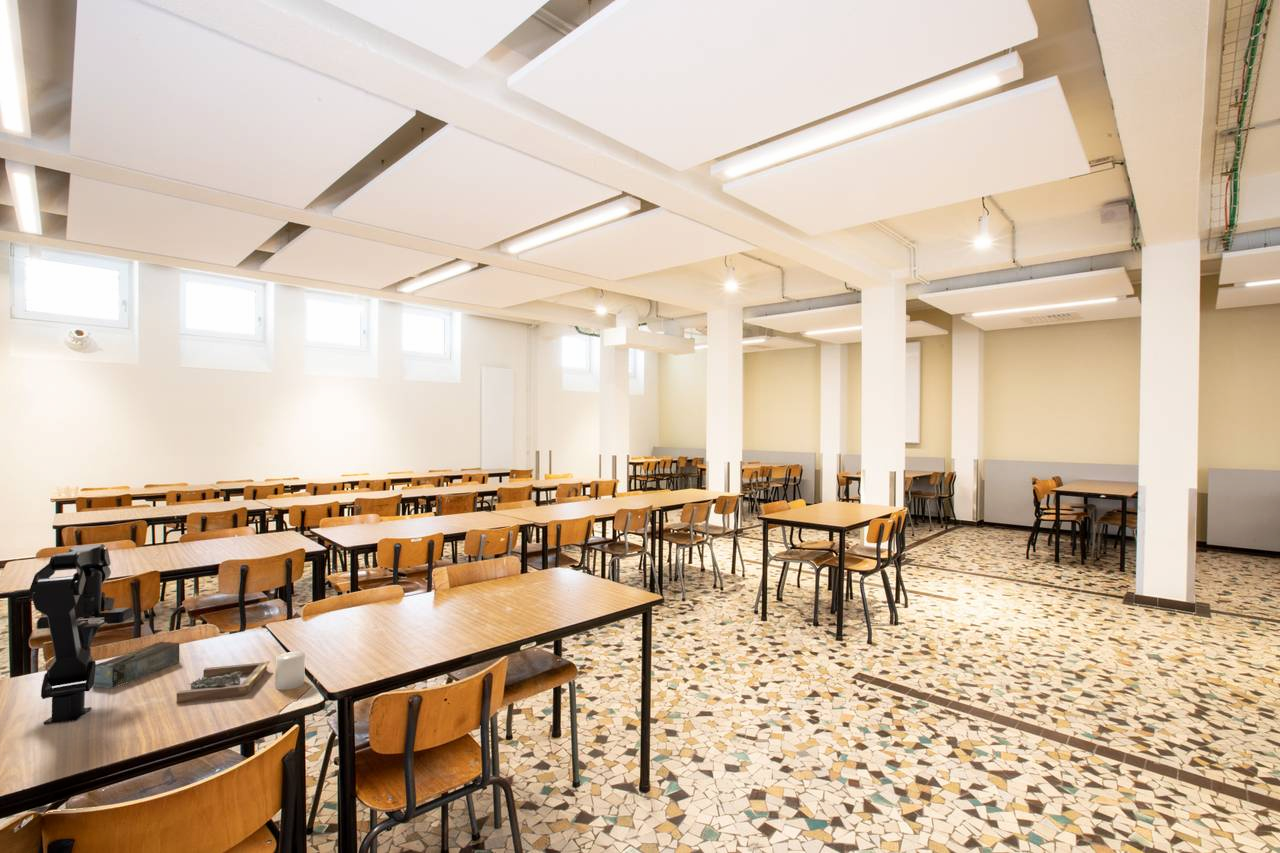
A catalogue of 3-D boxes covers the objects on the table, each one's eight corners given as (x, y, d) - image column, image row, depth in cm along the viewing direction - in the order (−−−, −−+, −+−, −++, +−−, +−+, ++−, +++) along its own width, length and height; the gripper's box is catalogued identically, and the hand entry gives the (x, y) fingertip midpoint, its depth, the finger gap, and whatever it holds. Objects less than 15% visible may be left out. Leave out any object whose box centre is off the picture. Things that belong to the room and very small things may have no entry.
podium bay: (248, 695, 154) (248, 684, 154) (176, 703, 150) (176, 692, 150) (269, 670, 171) (269, 660, 171) (205, 676, 166) (205, 666, 166)
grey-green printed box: (89, 686, 160) (90, 663, 160) (161, 660, 178) (161, 639, 178) (111, 689, 158) (112, 665, 158) (181, 662, 177) (181, 641, 177)
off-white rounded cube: (300, 688, 159) (300, 659, 159) (271, 691, 157) (271, 662, 157) (307, 678, 165) (307, 650, 165) (279, 680, 163) (280, 652, 163)
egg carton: (244, 685, 161) (244, 670, 161) (226, 697, 153) (226, 682, 153) (205, 685, 160) (205, 670, 160) (185, 697, 153) (185, 682, 153)
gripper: (145, 581, 165) (144, 636, 165) (64, 586, 160) (63, 642, 160) (122, 592, 154) (121, 650, 154) (35, 597, 149) (34, 657, 149)
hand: (86, 649), depth 155 cm, fingers closed
